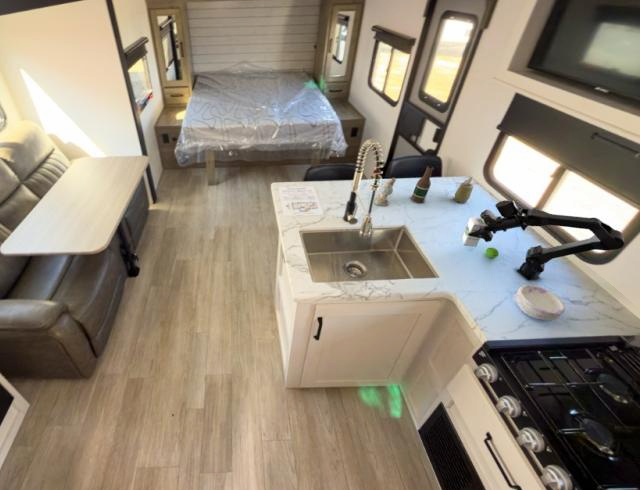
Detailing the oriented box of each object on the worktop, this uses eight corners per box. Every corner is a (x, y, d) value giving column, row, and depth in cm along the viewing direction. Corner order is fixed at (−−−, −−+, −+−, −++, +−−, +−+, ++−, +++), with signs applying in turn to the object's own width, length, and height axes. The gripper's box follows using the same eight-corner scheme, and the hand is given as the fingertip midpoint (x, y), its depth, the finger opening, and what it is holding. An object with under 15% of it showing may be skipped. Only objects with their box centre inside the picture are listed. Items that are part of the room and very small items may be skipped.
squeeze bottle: (449, 198, 204) (460, 174, 193) (458, 195, 207) (469, 172, 196) (461, 205, 198) (473, 181, 188) (469, 202, 201) (482, 178, 190)
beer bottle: (411, 202, 201) (424, 169, 187) (410, 195, 207) (422, 163, 193) (424, 204, 200) (438, 171, 185) (422, 197, 206) (436, 165, 191)
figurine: (387, 208, 197) (396, 180, 185) (373, 204, 200) (381, 177, 188) (389, 200, 203) (398, 173, 191) (376, 197, 206) (384, 170, 195)
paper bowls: (535, 294, 143) (545, 283, 139) (563, 324, 131) (575, 313, 127) (502, 295, 143) (511, 284, 138) (528, 325, 131) (538, 314, 126)
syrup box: (476, 247, 162) (487, 225, 153) (463, 245, 163) (473, 223, 155) (473, 239, 166) (483, 218, 158) (460, 238, 168) (470, 216, 159)
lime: (498, 259, 161) (503, 251, 158) (489, 260, 161) (494, 253, 157) (489, 252, 165) (494, 244, 162) (481, 253, 165) (485, 246, 162)
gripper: (500, 200, 154) (466, 209, 167) (494, 218, 143) (457, 226, 156) (512, 219, 155) (476, 227, 167) (506, 238, 143) (469, 245, 156)
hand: (470, 231), depth 161 cm, fingers closed on syrup box, 7 cm apart
